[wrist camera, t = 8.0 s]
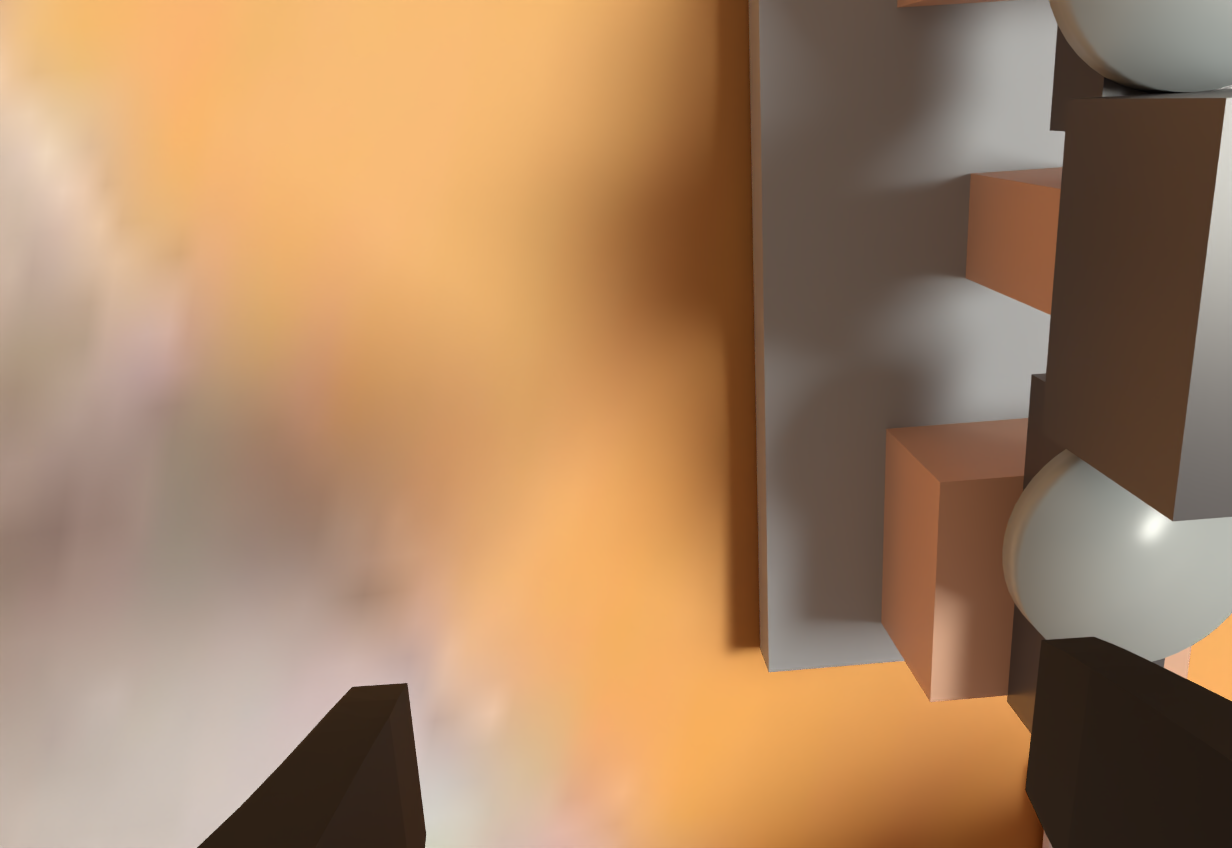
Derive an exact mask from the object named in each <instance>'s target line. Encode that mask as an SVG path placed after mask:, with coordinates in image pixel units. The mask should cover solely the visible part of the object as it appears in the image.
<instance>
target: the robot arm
mask: <svg viewBox="0 0 1232 848" xmlns="http://www.w3.org/2000/svg"><path fill="white" fill-rule="evenodd" d="M1025 790H1026V792H1027V794H1028V797H1029V799H1030V801H1031V803H1032V805H1033V807H1034V810H1035V812H1036V814H1037V816H1038V818H1039V820H1040V823H1041V825H1042V827H1043V829H1044V836H1043V847H1042V848H1232V701H1230V700H1228V699H1226V698H1224V697H1222V696H1220V695H1218V694H1216V693H1214V692H1212V691H1210V690H1208V689H1206V688H1204V687H1202V686H1200V685H1198V684H1196V683H1194V682H1192V681H1190V680H1188V679H1186V678H1184V677H1182V676H1180V675H1178V674H1176V673H1174V672H1172V671H1169V670H1167V669H1165V668H1163V667H1161V666H1159V665H1157V664H1155V663H1153V662H1151V661H1149V660H1147V659H1145V658H1143V657H1141V656H1138V655H1136V654H1134V653H1132V652H1130V651H1128V650H1125V649H1123V648H1121V647H1119V646H1116V645H1114V644H1112V643H1109V642H1107V641H1104V640H1101V639H1099V638H1096V637H1080V638H1065V639H1050V640H1041V649H1040V658H1039V667H1038V677H1037V686H1036V695H1035V705H1034V714H1033V723H1032V733H1031V742H1030V751H1029V761H1028V770H1027V779H1026V789H1025ZM425 841H426V830H425V822H424V814H423V806H422V798H421V790H420V782H419V774H418V766H417V757H416V749H415V741H414V733H413V725H412V717H411V709H410V701H409V693H408V685H407V683H403V684H389V685H374V686H359V687H352V688H351V689H350V690H349V691H348V692H347V693H346V694H345V695H344V696H343V697H342V698H341V699H340V701H339V702H338V703H337V704H336V705H335V706H334V707H333V708H332V709H331V710H330V711H329V712H328V713H327V714H326V715H325V717H324V718H323V719H322V720H321V721H320V722H319V723H318V724H317V725H316V726H315V728H314V729H313V730H312V731H311V732H310V733H309V734H308V735H307V736H306V738H305V739H304V740H303V741H302V742H301V743H300V744H299V745H298V746H297V747H296V748H295V750H294V751H293V752H292V753H291V754H290V755H289V756H288V757H287V758H286V759H285V760H284V762H283V763H282V764H281V765H280V766H279V767H278V768H277V769H276V770H275V771H274V772H273V773H272V774H271V775H270V776H269V777H268V778H267V779H266V780H265V781H264V783H263V784H262V785H261V786H260V787H259V788H258V789H257V790H256V791H255V792H254V793H253V794H252V795H251V796H250V797H249V798H248V799H247V800H246V801H245V802H244V803H243V804H242V805H241V807H240V808H238V809H237V810H236V811H235V812H234V813H233V814H232V815H231V816H230V817H229V818H228V819H227V820H226V821H225V822H224V823H223V824H222V825H221V826H220V827H218V828H217V829H216V830H215V831H214V832H213V833H212V834H211V835H210V836H209V837H208V838H207V839H206V840H205V841H204V842H203V843H202V844H201V845H200V846H198V847H197V848H425Z"/></svg>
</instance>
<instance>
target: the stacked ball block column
mask: <svg viewBox="0 0 1232 848" xmlns="http://www.w3.org/2000/svg"><path fill="white" fill-rule="evenodd" d="M1049 2H1050V6H1051V9H1052V12H1053V14H1054V17H1055V19H1056V22H1057V38H1056V52H1055V65H1054V79H1053V92H1052V105H1051V119H1050V131H1065V141H1064V153H1063V166H1062V178H1061V191H1060V204H1059V216H1058V229H1057V242H1056V254H1055V267H1054V280H1053V292H1052V305H1051V317H1050V330H1049V343H1048V355H1047V368H1046V373H1043V374H1031V388H1030V401H1029V415H1028V428H1027V441H1026V455H1025V468H1024V482H1023V492H1022V494H1021V496H1020V497H1019V499H1018V501H1017V503H1016V504H1015V506H1014V508H1013V511H1012V513H1011V516H1010V518H1009V520H1008V524H1007V527H1006V531H1005V535H1004V541H1003V549H1002V565H1003V571H1004V578H1005V581H1006V584H1007V588H1008V591H1009V593H1010V595H1011V597H1012V599H1013V601H1014V616H1013V630H1012V643H1011V657H1010V670H1009V683H1008V697H1007V702H1008V703H1009V705H1010V706H1011V707H1012V709H1013V710H1014V711H1015V713H1016V714H1017V715H1018V717H1019V718H1020V719H1021V721H1022V722H1023V723H1024V725H1025V726H1026V727H1027V729H1028V730H1029V731H1030V733H1032V723H1033V714H1034V705H1035V695H1036V686H1037V677H1038V667H1039V658H1040V649H1041V640H1050V639H1065V638H1080V637H1096V638H1099V639H1101V640H1104V641H1107V642H1109V643H1112V644H1114V645H1116V646H1119V647H1121V648H1123V649H1125V650H1128V651H1130V652H1132V653H1134V654H1136V655H1138V656H1141V657H1143V658H1145V659H1147V660H1149V661H1151V662H1153V663H1155V664H1157V665H1159V666H1161V667H1163V668H1164V663H1165V658H1166V657H1168V656H1171V655H1174V654H1176V653H1178V652H1180V651H1182V650H1184V649H1186V648H1188V647H1190V646H1192V645H1194V644H1195V643H1197V642H1198V641H1200V640H1201V639H1203V638H1205V637H1206V636H1207V635H1208V634H1210V633H1211V632H1212V631H1213V630H1215V629H1216V628H1217V627H1218V626H1219V625H1220V624H1221V623H1223V622H1224V621H1225V620H1226V619H1227V618H1228V617H1229V616H1230V615H1231V613H1232V0H1049Z"/></svg>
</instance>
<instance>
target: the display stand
mask: <svg viewBox="0 0 1232 848" xmlns="http://www.w3.org/2000/svg"><path fill="white" fill-rule="evenodd" d="M1056 38H1057V22H1056V19H1055V17H1054V14H1053V12H1052V9H1051V6H1050V2H1049V0H749V52H750V108H751V164H752V221H753V277H754V333H755V389H756V445H757V502H758V558H759V614H760V650H761V652H762V655H763V658H764V660H765V663H766V666H767V668H768V671H769V672H777V671H789V670H801V669H812V668H824V667H836V666H848V665H860V664H871V663H883V662H895V661H905V662H906V664H907V665H908V667H909V668H910V670H911V672H912V673H913V675H914V676H915V678H916V680H917V681H918V683H919V685H920V686H921V688H922V689H923V691H924V693H925V694H926V696H927V697H928V699H929V701H930V702H935V701H947V700H958V699H970V698H981V697H993V696H1004V695H1008V683H1009V670H1010V657H1011V643H1012V630H1013V616H1014V601H1013V599H1012V597H1011V595H1010V593H1009V591H1008V588H1007V584H1006V581H1005V578H1004V571H1003V565H1002V549H1003V541H1004V535H1005V531H1006V527H1007V524H1008V520H1009V518H1010V516H1011V513H1012V511H1013V508H1014V506H1015V504H1016V503H1017V501H1018V499H1019V497H1020V496H1021V494H1022V492H1023V482H1024V468H1025V455H1026V441H1027V428H1028V415H1029V401H1030V388H1031V374H1043V373H1046V368H1047V355H1048V343H1049V330H1050V317H1051V305H1052V292H1053V280H1054V267H1055V254H1056V242H1057V229H1058V216H1059V204H1060V191H1061V178H1062V166H1063V153H1064V141H1065V131H1050V119H1051V105H1052V92H1053V79H1054V65H1055V52H1056ZM1208 635H1209V634H1208ZM1190 652H1191V646H1190V647H1188V648H1186V649H1184V650H1182V651H1180V652H1178V653H1176V654H1174V655H1171V656H1168V657H1166V658H1165V663H1164V668H1165V669H1167V670H1169V671H1172V672H1174V673H1176V674H1178V675H1180V676H1182V677H1184V678H1186V679H1187V674H1188V667H1189V660H1190Z"/></svg>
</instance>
